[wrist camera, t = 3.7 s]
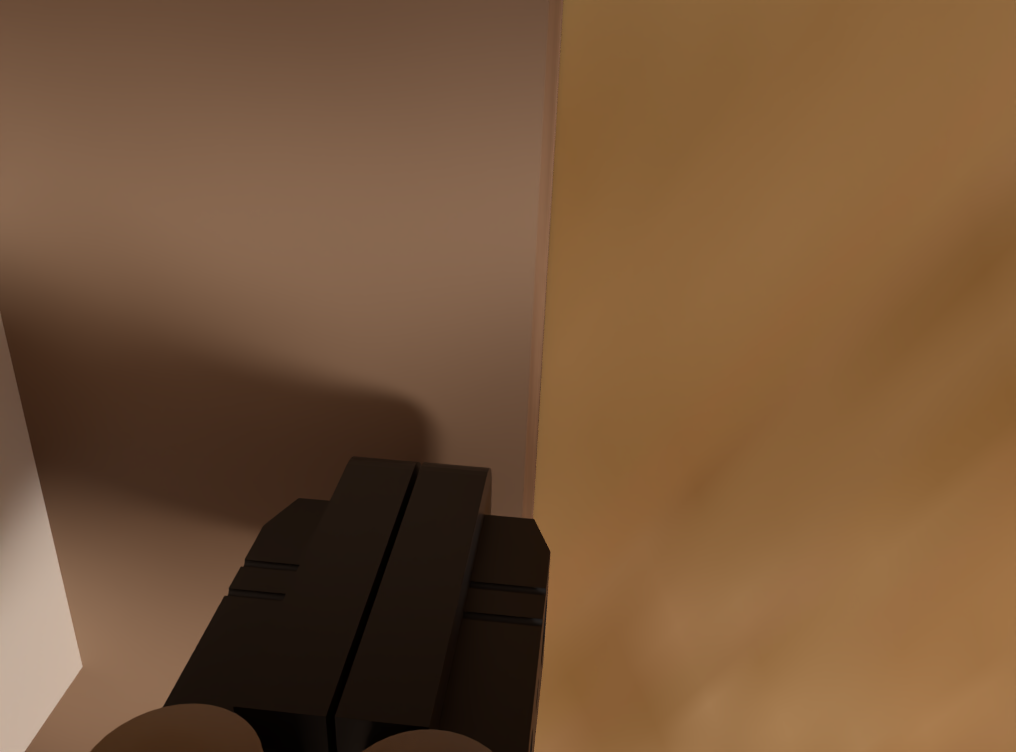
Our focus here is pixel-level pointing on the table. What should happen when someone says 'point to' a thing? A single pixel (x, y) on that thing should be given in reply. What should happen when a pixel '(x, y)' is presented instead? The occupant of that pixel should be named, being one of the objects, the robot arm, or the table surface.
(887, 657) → the table surface
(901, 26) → the table surface
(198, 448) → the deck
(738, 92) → the table surface
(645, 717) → the table surface
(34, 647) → the tile
